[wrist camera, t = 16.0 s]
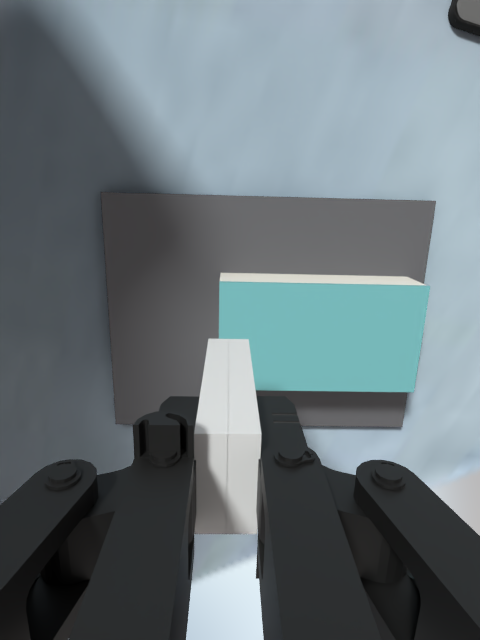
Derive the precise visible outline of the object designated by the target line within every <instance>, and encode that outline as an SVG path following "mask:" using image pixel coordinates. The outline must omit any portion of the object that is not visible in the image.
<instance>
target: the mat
mask: <svg viewBox="0 0 480 640" xmlns="http://www.w3.org/2000/svg"><path fill="white" fill-rule="evenodd" d="M101 204H102V219H103V234H104V250H105V265H106V280H107V296H108V311H109V327H110V342H111V357H112V373H113V388H114V403H115V419H116V424H134V423H135V422H136V420H137V419H139V418H140V417H142V416H144V415H146V414H149V413H153V412H156V411H159V408H160V405H161V404H162V403H163V402H164V401H165V400H166V399H168V398H169V397H170V396H199V397H200V391H201V385H202V378H203V372H204V365H205V359H206V352H207V345H208V339H219V282H220V274H221V273H258V274H307V275H355V276H403V277H409V278H411V279H414V280H416V281H418V282H421V283H423V284H424V278H425V271H426V265H427V258H428V251H429V245H430V238H431V231H432V225H433V218H434V211H435V204H436V201H417V200H378V199H340V198H302V197H264V196H225V195H187V194H149V193H110V192H101ZM256 396H285V397H286V398H288V399H289V400H290V401H291V402H292V403H293V404H294V405H295V408H296V412H297V415H298V418H299V423H300V424H301V426H366V427H402V425H403V418H404V412H405V405H406V398H407V392H349V391H267V390H256Z"/></svg>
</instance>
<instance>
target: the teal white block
mask: <svg viewBox="0 0 480 640" xmlns="http://www.w3.org/2000/svg"><path fill="white" fill-rule="evenodd" d="M429 291H430V286H427V285H425V284H423V283H421V282H418V281H416V280H414V279H411V278H409V277H403V276H355V275H307V274H258V273H221V274H220V282H219V339H249V346H250V353H251V361H252V368H253V375H254V383H255V390H267V391H349V392H414V388H415V381H416V375H417V369H418V362H419V356H420V349H421V343H422V336H423V330H424V323H425V317H426V310H427V304H428V297H429Z"/></svg>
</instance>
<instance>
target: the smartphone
mask: <svg viewBox="0 0 480 640" xmlns="http://www.w3.org/2000/svg"><path fill="white" fill-rule="evenodd" d="M448 19H449V22H450V24H451V25H452V26H453V27H455V28H457V29H460V30H463V31H466V32H469V33H472V34H475V35H478V36H480V0H452V3H451V5H450V8H449V12H448Z"/></svg>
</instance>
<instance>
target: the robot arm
mask: <svg viewBox="0 0 480 640" xmlns="http://www.w3.org/2000/svg"><path fill="white" fill-rule="evenodd" d="M133 436H134V455H135V458H134V461H133V463H132V465H131V466H129V467H127V468H125V469H122V470H119V471H115V472H111V473H106V474H101V475H97V473H96V468H95V467H94V466H93V465H92V464H91V463H90V462H87V461H84V460H71V459H70V460H65V461H64V460H63V461H59V462H56V463H53V464H51V465H48V466H46V467H44V468H43V469H41V470H40V471H38V472H37V473H35V474H34V475H33V476H32V477H31V478H30V479H29V480H28V481H27V482H26V483H24V484H23V485H22V486H21V487H20V488H19V489H18V490H17V491H16V492H15V493H13V494H12V495H11V496H10V497H9V498H8V499H7V500H6V501H5V502H4V503H2V504H1V505H0V640H186V632H187V622H188V611H189V601H190V590H191V580H192V570H193V560H194V531H195V534H257V525H258V547H257V569H256V578H259V580H260V594H261V606H262V607H261V608H262V621H263V634H264V640H480V536H479V535H478V534H477V533H476V532H475V531H474V530H473V529H472V528H471V527H470V526H469V525H467V523H465V522H464V521H463V520H462V519H461V518H460V517H459V516H458V515H457V514H456V513H455V512H454V511H453V510H452V509H451V508H450V507H449V506H448V505H447V504H445V503H444V502H443V501H442V500H441V499H440V498H439V497H438V496H437V495H436V494H435V493H434V492H433V491H432V490H431V489H430V488H429V487H428V486H427V485H426V484H425V483H424V482H422V481H421V480H420V479H419V478H418V477H417V476H416V475H415V474H414V473H413V472H411V471H410V470H408V469H407V468H406V467H403V466H401V465H399V464H396V463H394V462H390V461H385V460H370V461H367V462H364V463H362V464H361V465H359V466H358V467H357V470H356V475H352V474H347V473H343V472H339V471H335V470H332V469H329V468H327V467H325V466H323V465H321V462H320V459H319V457H318V456H317V454H316V453H315V452H314V451H313V450H311V449H310V448H308V447H307V443H306V440H305V437H304V434H303V431H302V428H301V424H300V423H299V418H298V415H297V412H296V408H295V405H294V404H293V403H292V402H291V401H290V400H289V399H288V398H286V397H285V396H256V390H255V383H254V375H253V368H252V361H251V353H250V346H249V339H208V345H207V352H206V359H205V365H204V372H203V378H202V385H201V391H200V397H199V396H170V397H169V398H168V399H166V400H165V401H164V402H163V403H162V404H161V405H160V408H159V411H156V412H153V413H149V414H146V415H144V416H142V417H140V418H139V419H137V420H136V422H135V423H134V424H133Z"/></svg>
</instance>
